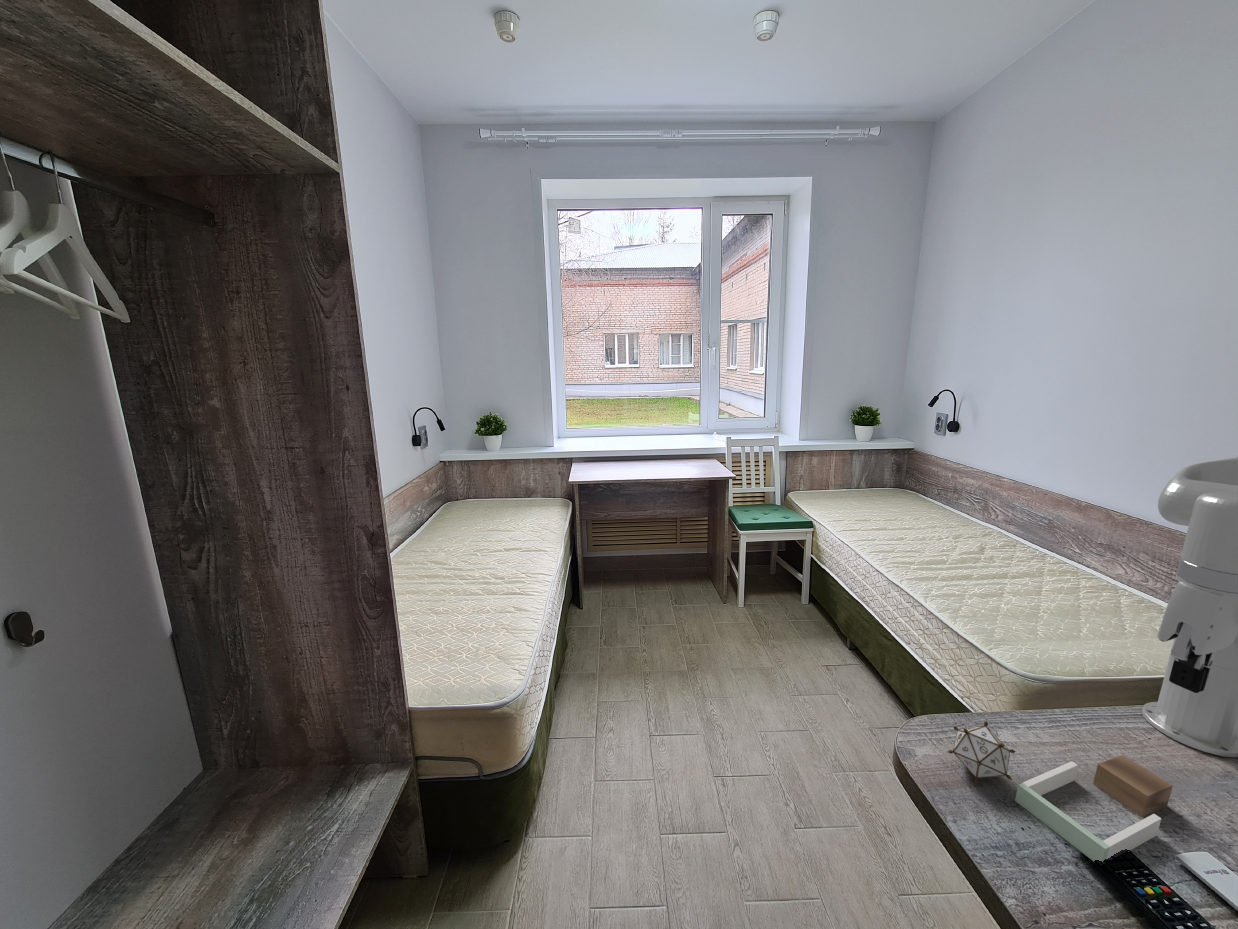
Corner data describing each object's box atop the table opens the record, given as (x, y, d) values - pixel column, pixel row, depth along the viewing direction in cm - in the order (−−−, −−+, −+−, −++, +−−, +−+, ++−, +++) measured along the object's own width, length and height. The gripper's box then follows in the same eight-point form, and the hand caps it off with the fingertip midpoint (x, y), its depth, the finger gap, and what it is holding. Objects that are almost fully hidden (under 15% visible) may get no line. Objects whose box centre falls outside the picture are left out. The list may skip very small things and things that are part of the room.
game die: (988, 798, 79) (1039, 788, 72) (937, 775, 80) (982, 763, 73) (980, 741, 85) (1025, 727, 78) (932, 720, 86) (973, 704, 79)
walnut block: (1117, 775, 79) (1122, 755, 78) (1166, 807, 73) (1172, 785, 72) (1092, 784, 77) (1097, 764, 76) (1141, 818, 72) (1147, 796, 71)
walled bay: (1068, 776, 78) (1071, 761, 78) (1156, 835, 69) (1161, 818, 68) (1014, 800, 74) (1018, 784, 74) (1100, 867, 65) (1105, 849, 64)
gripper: (1206, 560, 76) (1178, 662, 80) (1152, 573, 71) (1125, 682, 75) (1282, 580, 69) (1248, 691, 73) (1227, 596, 64) (1193, 714, 68)
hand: (1185, 686), depth 74 cm, fingers closed
